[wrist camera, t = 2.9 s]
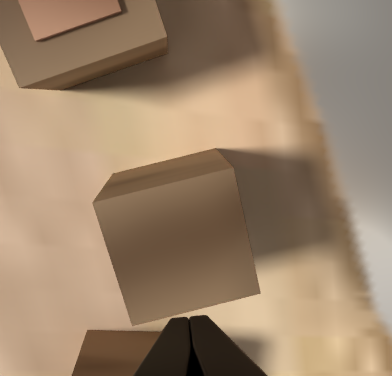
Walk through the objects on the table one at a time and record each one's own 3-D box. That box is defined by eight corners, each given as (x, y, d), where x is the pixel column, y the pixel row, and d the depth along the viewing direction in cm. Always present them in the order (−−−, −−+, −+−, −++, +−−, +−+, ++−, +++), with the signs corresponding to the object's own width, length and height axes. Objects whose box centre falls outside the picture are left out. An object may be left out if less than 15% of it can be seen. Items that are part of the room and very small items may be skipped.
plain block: (236, 242, 19) (260, 293, 14) (141, 266, 19) (132, 326, 14) (215, 148, 18) (233, 167, 13) (113, 173, 18) (92, 202, 13)
